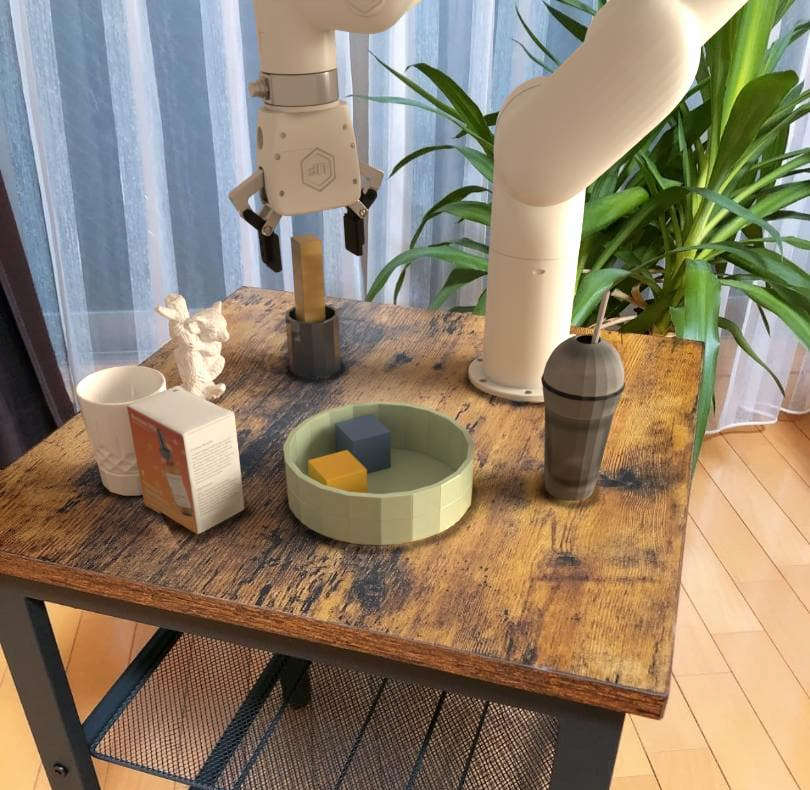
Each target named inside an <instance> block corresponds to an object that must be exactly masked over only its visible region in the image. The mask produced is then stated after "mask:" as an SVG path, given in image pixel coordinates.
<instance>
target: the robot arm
mask: <svg viewBox="0 0 810 790" xmlns="http://www.w3.org/2000/svg"><path fill="white" fill-rule="evenodd" d="M422 1H423V0H252V4H253V5H252V6H253V13H254V23H255V32H256V41H257V52H258V60H259V69H260V71H258V79H256V80H255V81H250V82H248V92H249V96H250V97H251V98H258V99H261V101H262V102H263V105H261V106H258V108H257V109H258V110H257V119H256V136H255V139H256V140H255V142H256V143H255V147H256V148H255V154H256V155H255V156H256V170H255V172H253V173H252V174H251V175H250V176H248V177H247V178H245V179H244V180H243V181H242V182H240V183H239V184H238V185H236V186H235V187H234V188H233V189H232V190H231V191H229V192H228V195H227V197H228V200H229V201H230V203H231V204H232V206H233V207H234V208H235V210H236V212H237V213H238V214H239V217H240V218H241V219H242V220H244V221H245V222H246V223H248V224H249V225H250V226H251V227H252V228H254V229H255V230H256V231H257V234H258V242H259V250H260V259H261V261H262V263H263V264H264V265H265V266H266V267H267V268H269V269H270V270H271V271H272V272H274V273H276V274H277V273H281V272H282V271H283V265H282V263H283V262H282V255H281V245H280V237H279V235H278V234H277V233H275V229H276V228H277V226H278V224H279V222H280V221H281V220H282V218H283V217H294V216H300V215H307V214H313V213H318V212H324V211H329V210H335V209H339V208H343V207H344V208H345V209H346V212H344V213H343V216H342V218H343V220H342V221H343V234H344V236H343V239H344V249H345V250H346V251H347V252H349V253H351V254H353V255H354V256H356V257H362V256H363V255H364V249H363V246H364V245H365V243H366V239H365V238H366V237H365V236H366V235H365V219H366V218H367V217H368V215H369V209H371V207H372V205H373V204H374V203H375V201H376V200H377V198H378V191H379V190H380V188H381V185H382V182H383V180H384V176H385V173H384V171H383V170H381V169H379V168H378V167H375V166H373V165H371V164H368V163H365V162H364V161H361V160H359V153H358V146H357V140H356V133H355V130H354V125H353V120H352V115H351V111H350V107H349V104H348V102H347V101H346V100H342V99H340V91H339V76H338V75H339V74H338V62H337V61H338V60H337V45H336V44H337V43H336V31H339V32H345V33H353V34H359V35H375V34H380V33H383V32H385V31H388V30H390V29H391V28H393V27H394V26H395V25H396V24H397V23H398V22H399V20H400V19H402V17H404V15H405V14H407V13H408V12H409V11H410V10H411V9H413V8H414V7H416V6H417V5H419V4H420V3H422ZM748 1H749V0H608V1H607V2H606V3H604V5H603V6H601V8H599V10H598V11H597V12H596V13H595V15H594V16H593V18H592V19H591V21H590V23H589V25H588V27H587V30H586V33H585V37H584V40H583V42H582V43H581V44H580V45H579V46H578V47H577V48H576V49H575V50H574V51H573V52H571V54H570V55H569V56H568V57H567V58H566V59H565V60H564V61H563V62H562V63H561V64H560V65H559V66H558V67H557V68H556V69H555V70H554V71H553V72H552V73H551V74H550V75H540V76H536V77H533V78H530V79H527V80H525V81H524V82H522V83H521V84H519V85H518V86H516V87H515V88H514V89H513V90H512V91H511V92H510V93H509V94H508V96H507V97H506V99H505V100H504V102H503V103H502V105H501V107H500V109H499V111H498V115H497V117H496V122H495V126H494V127H495V128H494V138H493V174H492V176H493V177H492V193H491V194H492V196H491V211H490V226H489V227H490V230H489V244H488V258H487V259H488V261H487V276H486V278H487V279H486V281H487V282H486V294H485V295H486V297H485V313H484V331H483V347H482V348H483V349H482V354H481V355H478V357H476V358H474V359H473V361H471V363H470V364H469V366H468V379H469V381H470V383H471V384H472V385H473V386H475V388H477V389H479V390H480V391H482V392H484V393H486V394H488V395H491V396H494V397H497V398H500V399H501V398H502V399H505V400H508V401H515V402H527V403H528V402H534V404H538V403H540V404H541V403H544V397H543V388H542V387H543V385H542V381H541V377H542V375H543V373H544V368H545V365H546V363H547V361H548V359H549V357H550V355H551V353H552V352H553V350H554V349H555V348H556V347H557V346H558V345H559V344H560V343H562V342H563V341H565V340H566V339H568V338H570V337H573V336H576V335H577V334H575V333H570V331H571V323H572V313H573V305H574V297H575V290H576V280H577V279H576V278H577V271H578V262H579V254H580V248H581V240H582V230H583V220H584V213H585V212H584V210H585V201H586V190H587V188H588V187H589V186H591V184H593V183H594V182H595V181H596V180H598V178H600V177H601V176H602V175H603V174H604V173H605V172H607V171H608V170H609V169H610V168H611V167H612V166H614V165H615V164H616V163H617V162H618V161H619V160H620V159H621V158H623V157H624V156H625V155H626V154H627V153H628V152H629V151H630V150H632V148H633V147H635V146H636V145H637V144H639V142H640V141H642V140H643V139H644V138H645V137H646V136H647V135H648V134H649V133H650V132H651V131H653V130H654V129H655V128H656V127H657V126H658V125H660V123H661V122H662V121H663V120H665V119H666V117H667V116H669V115H670V114H671V112H673V110H674V109H675V108H676V107H677V106H678V105H679V103H680V102H681V101H682V100H683V98H684V97H685V96H686V94H687V93H688V91H689V89H690V88H691V86H692V85H693V82H694V80H695V78H696V75H697V72H698V69H699V66H700V59H701V48H702V47H703V46H704V45H705V44H706V43H707V42H708V41H709V40H710V39H711V38H712V37H713V36H714V35H715V34H716V33H717V32H718V31H719V30H720V29H722V27H723V26H725V24H727V23H728V22H729V20H731V18H732V17H733V16H734V15H735V14H737V12H738V11H739V10H740V9H742V8H743V6H744V5H746V4H747V2H748ZM361 176H364V178H365V182H364V186H363V187H362V181H361ZM257 192H258V194H259V199H260V202H261V204H262V205H261V207H260V209H259V211H258V213H256V212H255V211H254V210H253V209H252V207H251V205H250V203H249V199H250V198H251V197H252V196H253V195H255V194H256V193H257Z"/></svg>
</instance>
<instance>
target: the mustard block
mask: <svg viewBox="0 0 810 790" xmlns="http://www.w3.org/2000/svg"><path fill="white" fill-rule="evenodd" d="M308 471H309V477H310V478H312V479H313V480H315V481H317V482H319V483H321V484H323V485H325V486H329V487H333V488H337V489H341V490H344V491H348V492H358V493H367V469H366V468H365V467H364V466H363V465H362V464H361V463H360V462H359V461H358V460H357V459H356V458H355V457H354V456H353V455H352V454H351V453H350V452H349V451H348V450H345V451H341V452H337V453H334V454H330V455H326V456H323V457H319V458H315V459H311V460H308Z"/></svg>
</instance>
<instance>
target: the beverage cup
mask: <svg viewBox="0 0 810 790" xmlns="http://www.w3.org/2000/svg"><path fill="white" fill-rule="evenodd" d="M610 294H611V291H610V290H609V289H604V290H603V294H602V297H601V300H600V305H599V309H598V314H597V318H596V322H595V324H594V325H595V326H594V330H593V334H590V333H584V334H583V333H582V334H575V335H576V336H573V337H570V338H568V339H566V340H565V341H563V342H562V343H560V344H559V345H558V346H557V347H556V348H555V349H554V350H553V352H552V353H551V355H550V357H549V359H548V361H547V363H546V365H545V368H544V373H543V375H542V377H541V381H542V385H543V387H542V388H543V397H544V402H543V403H544V447H543V448H544V450H543V451H544V452H543V453H544V454H543V455H544V456H543V457H544V458H543V477H544V487H545V490H546V491H547V493H548V494H549V495H550V496H553V498H556V499H559V500H562V501H568V502H569V501H571V502H575V501H582V500H585V499H588V498H589V497H590V496H592V495H593V493H594V491H595V487H596V486H597V483H598V480H599V479H598V478H599V475H600V472H601V466H602V463H603V460H604V454H605V451H606V447H607V443H608V439H609V435H610V432H611V427H612V423H613V419H614V415H615V411H616V410H617V408H618V405H619V402H620V400H621V398H622V394H623V393H624V390H625V388H626V380H625V367H624V364H623V361H622V358H621V356H620V353H619V352H618V350H617V349H616V348H615V346H614V345H613V344H611V342H609V341H608V340H606V339H605V338H603V337H601V336H600V335H601V330H602V326H603V323H604V322H603V321H604V317H605V314H606V310H607V305H608V301H609V298H610Z"/></svg>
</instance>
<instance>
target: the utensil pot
mask: <svg viewBox="0 0 810 790" xmlns="http://www.w3.org/2000/svg"><path fill="white" fill-rule="evenodd" d="M339 314H340V313H339V310H338V309H337V308H336V307H335V306H332V305H328V304H325V321H322V322H313V323H310V322H300V321H296V309H295V306H292V307H290V308H289V309H288V310H286V311H285V329H286V342H287V351H288V352H287V354H288V368H289V370H290V371H291V372H292V373H293V374H294V375H297V376H299V377H303V378H318V377H326V376H329V375H332V374H336V373H337V372H339V371H340V369H341V365H342V362H341V338H340V337H341V335H340V315H339Z"/></svg>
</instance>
